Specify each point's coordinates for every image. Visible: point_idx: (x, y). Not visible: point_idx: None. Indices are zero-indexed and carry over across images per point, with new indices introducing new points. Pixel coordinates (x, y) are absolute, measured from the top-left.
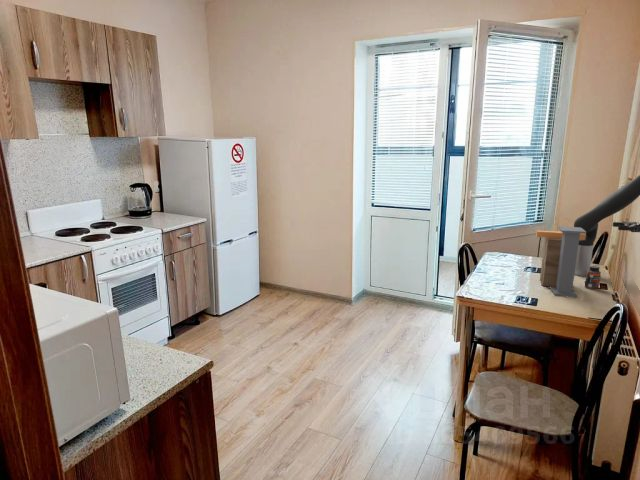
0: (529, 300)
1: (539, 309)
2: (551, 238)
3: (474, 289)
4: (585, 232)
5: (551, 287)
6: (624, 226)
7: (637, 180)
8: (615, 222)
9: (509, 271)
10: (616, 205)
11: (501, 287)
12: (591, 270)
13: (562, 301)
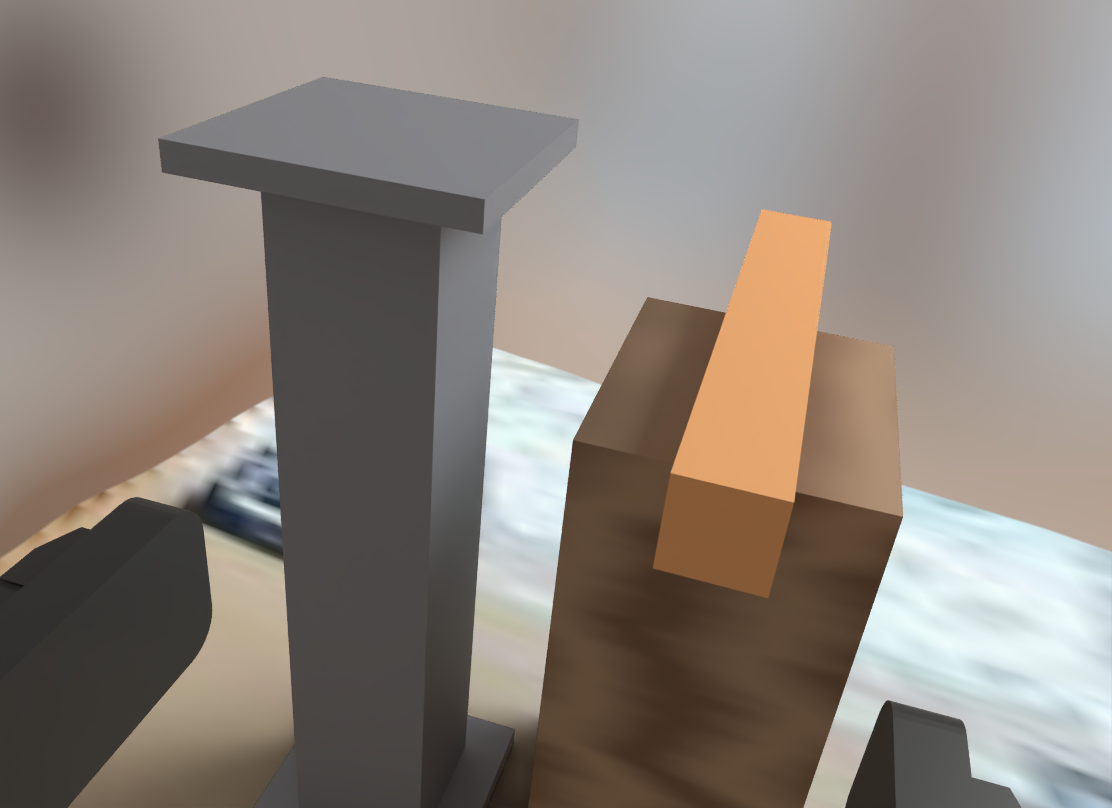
0: (275, 517)
1: (111, 502)
2: (703, 327)
3: (506, 381)
4: (164, 148)
5: (492, 726)
6: (11, 626)
7: None
8: (892, 747)
9: (975, 648)
10: None
11: (542, 481)
12: None
13: (189, 682)
